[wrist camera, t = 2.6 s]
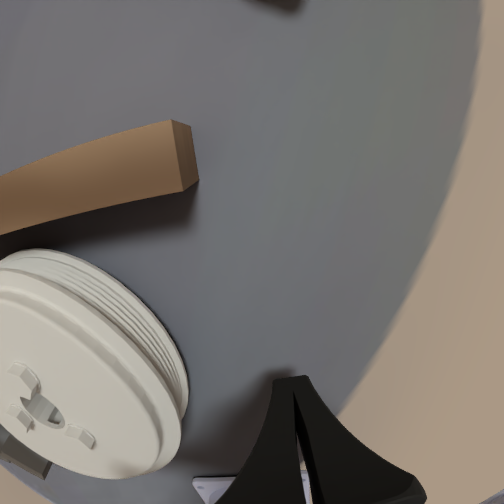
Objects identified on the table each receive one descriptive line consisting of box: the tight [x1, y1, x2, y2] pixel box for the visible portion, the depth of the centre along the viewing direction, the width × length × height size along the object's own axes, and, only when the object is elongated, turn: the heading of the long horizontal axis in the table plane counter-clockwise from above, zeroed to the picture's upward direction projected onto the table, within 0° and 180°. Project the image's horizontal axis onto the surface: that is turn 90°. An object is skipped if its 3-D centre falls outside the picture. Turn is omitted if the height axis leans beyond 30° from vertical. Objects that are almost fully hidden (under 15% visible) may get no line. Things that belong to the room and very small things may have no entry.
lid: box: [0, 248, 189, 479], centre depth 12 cm, size 13×13×5 cm
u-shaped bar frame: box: [0, 120, 199, 480], centre depth 13 cm, size 20×28×3 cm
